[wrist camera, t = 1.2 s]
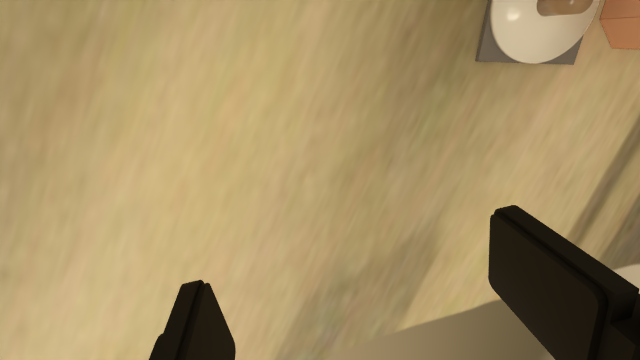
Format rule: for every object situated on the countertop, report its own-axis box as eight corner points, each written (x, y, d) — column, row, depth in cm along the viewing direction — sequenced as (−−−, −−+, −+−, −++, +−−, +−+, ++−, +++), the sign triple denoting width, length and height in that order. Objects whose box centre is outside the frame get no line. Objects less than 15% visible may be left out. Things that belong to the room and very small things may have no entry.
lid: (506, -71, 34) (543, -88, 30) (613, -60, 36) (665, -75, 31) (478, 61, 39) (505, 64, 35) (573, 64, 41) (612, 68, 37)
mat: (502, -69, 35) (506, -70, 34) (608, -59, 37) (613, -60, 36) (475, 60, 40) (478, 61, 39) (569, 64, 42) (573, 64, 41)
